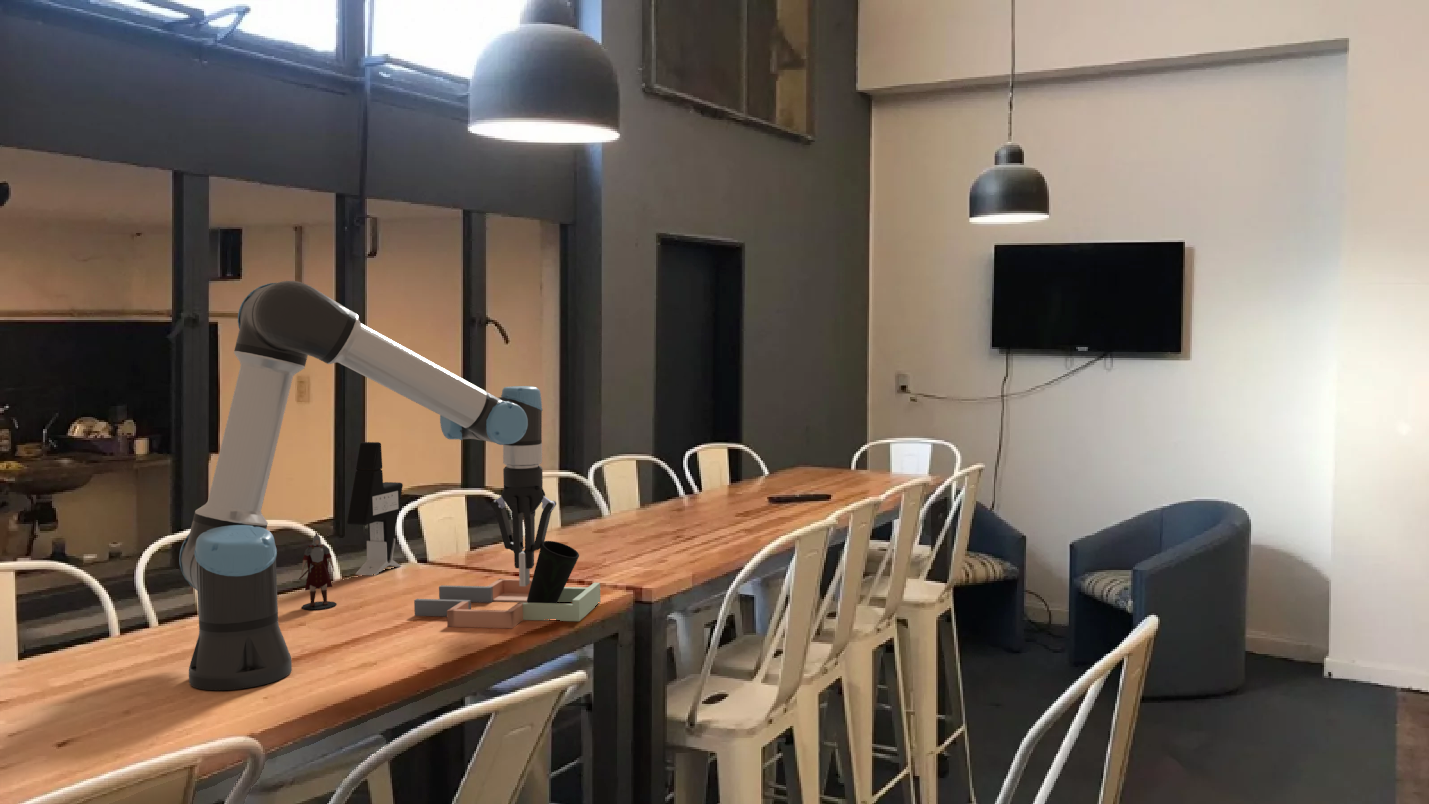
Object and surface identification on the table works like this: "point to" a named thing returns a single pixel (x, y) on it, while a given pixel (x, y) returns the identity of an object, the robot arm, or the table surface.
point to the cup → (551, 572)
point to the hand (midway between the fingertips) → (524, 584)
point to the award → (375, 508)
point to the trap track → (459, 600)
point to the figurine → (317, 574)
